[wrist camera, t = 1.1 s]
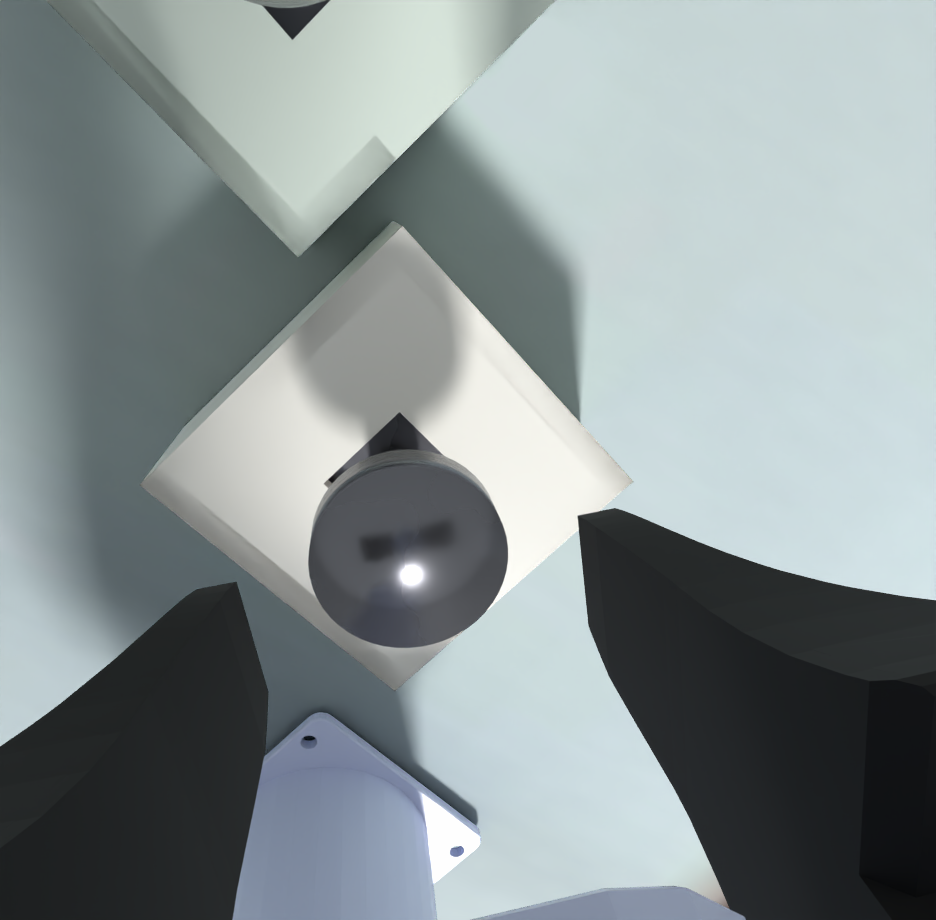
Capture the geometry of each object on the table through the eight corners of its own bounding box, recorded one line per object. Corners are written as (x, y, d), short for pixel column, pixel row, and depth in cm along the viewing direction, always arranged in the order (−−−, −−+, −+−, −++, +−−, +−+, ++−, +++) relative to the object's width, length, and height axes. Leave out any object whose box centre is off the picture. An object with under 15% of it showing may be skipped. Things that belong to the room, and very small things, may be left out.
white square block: (387, 602, 23) (394, 691, 19) (183, 426, 21) (139, 485, 16) (580, 428, 22) (633, 481, 18) (392, 220, 20) (402, 226, 15)
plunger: (393, 599, 20) (406, 731, 15) (241, 466, 18) (197, 566, 13) (542, 465, 19) (606, 557, 14) (397, 314, 17) (414, 359, 12)
